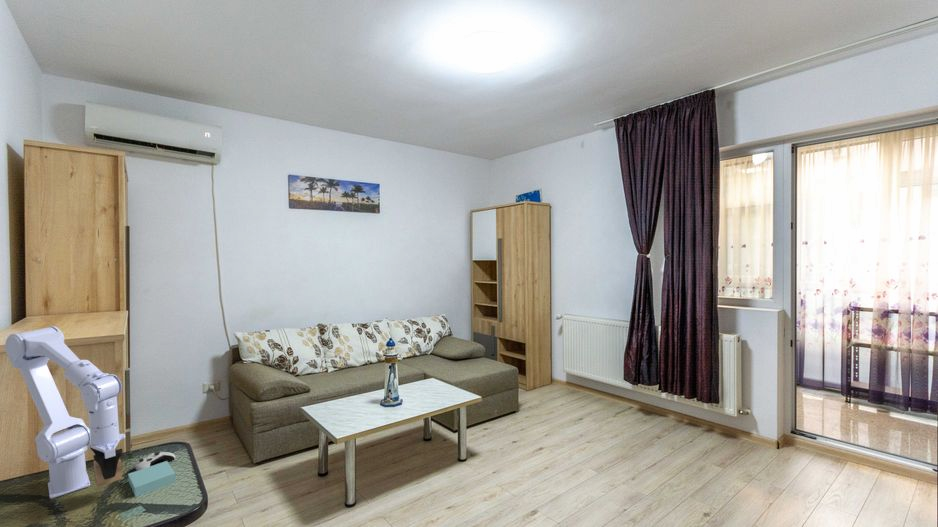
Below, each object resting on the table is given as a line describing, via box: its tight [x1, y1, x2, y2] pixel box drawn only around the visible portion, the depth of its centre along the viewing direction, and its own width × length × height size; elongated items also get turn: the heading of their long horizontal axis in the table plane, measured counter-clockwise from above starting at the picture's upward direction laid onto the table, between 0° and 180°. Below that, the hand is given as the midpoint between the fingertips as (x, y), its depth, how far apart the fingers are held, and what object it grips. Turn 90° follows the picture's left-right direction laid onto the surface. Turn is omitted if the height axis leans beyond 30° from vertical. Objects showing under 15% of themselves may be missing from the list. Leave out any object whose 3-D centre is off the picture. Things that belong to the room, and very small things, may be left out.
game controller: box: [134, 451, 176, 471], centre depth 128 cm, size 10×5×6 cm
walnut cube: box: [93, 457, 123, 488], centre depth 113 cm, size 5×5×5 cm
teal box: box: [127, 461, 176, 498], centre depth 120 cm, size 9×9×3 cm
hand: (108, 473), depth 114 cm, fingers closed on walnut cube, 5 cm apart
